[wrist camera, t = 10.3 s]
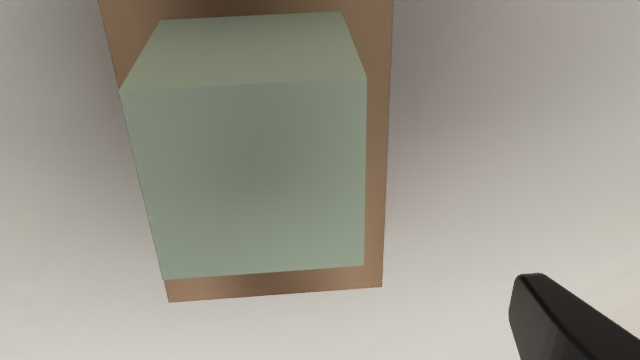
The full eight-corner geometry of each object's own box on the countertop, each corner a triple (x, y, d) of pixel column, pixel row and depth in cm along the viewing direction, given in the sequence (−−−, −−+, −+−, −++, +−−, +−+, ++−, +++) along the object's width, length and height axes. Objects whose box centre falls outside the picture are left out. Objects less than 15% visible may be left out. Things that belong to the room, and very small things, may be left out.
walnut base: (380, -226, 15) (402, -238, 13) (370, 238, 24) (381, 287, 21) (83, -217, 15) (44, -227, 12) (180, 251, 23) (169, 302, 21)
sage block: (341, 11, 16) (367, 77, 11) (342, 165, 18) (364, 265, 14) (160, 20, 15) (118, 91, 11) (188, 175, 18) (162, 280, 14)
